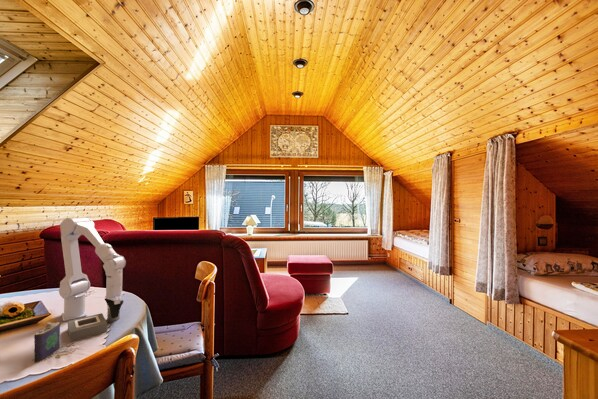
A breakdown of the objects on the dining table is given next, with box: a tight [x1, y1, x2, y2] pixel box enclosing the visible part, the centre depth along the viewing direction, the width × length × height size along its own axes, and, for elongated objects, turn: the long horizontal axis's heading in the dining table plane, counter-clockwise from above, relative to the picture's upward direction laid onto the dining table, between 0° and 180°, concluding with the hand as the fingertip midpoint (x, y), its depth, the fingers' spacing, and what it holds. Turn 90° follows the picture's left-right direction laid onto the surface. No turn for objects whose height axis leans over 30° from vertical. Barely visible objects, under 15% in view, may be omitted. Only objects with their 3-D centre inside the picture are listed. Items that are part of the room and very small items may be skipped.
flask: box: [33, 321, 61, 363], centre depth 89 cm, size 9×3×11 cm, turn 8°
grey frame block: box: [67, 312, 108, 343], centre depth 105 cm, size 12×11×4 cm
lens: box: [106, 305, 121, 323], centre depth 115 cm, size 4×4×7 cm
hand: (113, 315), depth 115 cm, fingers open, 4 cm apart
